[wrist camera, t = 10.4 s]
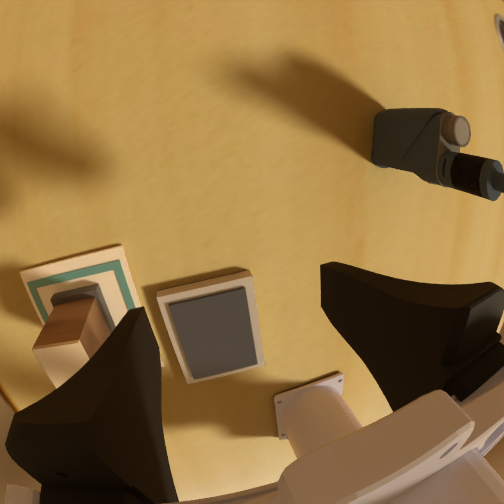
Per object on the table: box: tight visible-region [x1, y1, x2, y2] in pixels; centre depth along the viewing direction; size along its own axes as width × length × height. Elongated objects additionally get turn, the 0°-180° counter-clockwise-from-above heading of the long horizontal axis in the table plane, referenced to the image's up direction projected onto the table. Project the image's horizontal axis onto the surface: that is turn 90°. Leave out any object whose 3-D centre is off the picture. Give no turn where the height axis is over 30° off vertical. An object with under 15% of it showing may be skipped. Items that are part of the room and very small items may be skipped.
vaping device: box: [372, 108, 504, 201], centre depth 16 cm, size 3×5×12 cm, turn 176°
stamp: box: [32, 283, 116, 389], centre depth 17 cm, size 5×4×6 cm
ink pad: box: [156, 270, 265, 384], centre depth 23 cm, size 9×7×1 cm
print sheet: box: [19, 245, 164, 367], centre depth 20 cm, size 11×9×1 cm
